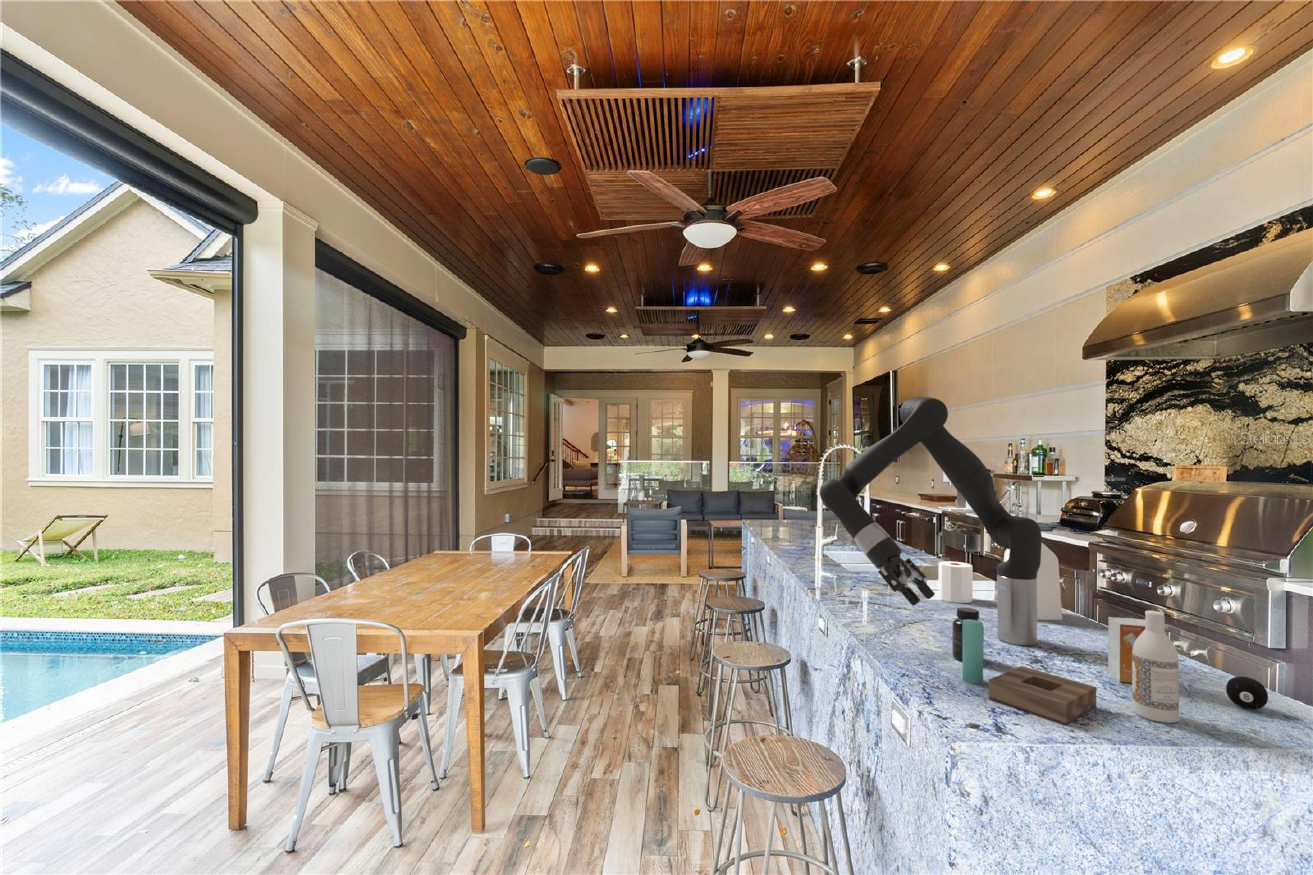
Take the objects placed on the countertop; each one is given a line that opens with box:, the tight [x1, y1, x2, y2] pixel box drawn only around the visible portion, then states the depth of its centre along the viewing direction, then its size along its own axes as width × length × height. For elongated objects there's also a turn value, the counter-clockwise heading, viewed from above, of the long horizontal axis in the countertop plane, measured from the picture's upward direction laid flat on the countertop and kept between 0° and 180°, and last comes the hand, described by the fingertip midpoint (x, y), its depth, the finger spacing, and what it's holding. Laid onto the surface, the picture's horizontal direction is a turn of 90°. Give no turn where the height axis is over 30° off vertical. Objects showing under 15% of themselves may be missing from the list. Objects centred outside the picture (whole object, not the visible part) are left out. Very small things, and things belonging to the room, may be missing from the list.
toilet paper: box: [938, 560, 974, 604], centre depth 205 cm, size 10×10×12 cm
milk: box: [1003, 542, 1063, 621], centre depth 187 cm, size 12×12×26 cm
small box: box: [1107, 616, 1145, 684], centre depth 134 cm, size 8×6×13 cm
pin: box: [962, 619, 984, 685], centre depth 133 cm, size 4×4×13 cm
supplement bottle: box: [951, 607, 985, 662], centre depth 147 cm, size 7×7×12 cm
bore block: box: [988, 665, 1097, 726], centre depth 122 cm, size 14×14×4 cm
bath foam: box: [1131, 610, 1180, 724], centre depth 116 cm, size 7×7×20 cm
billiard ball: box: [1225, 675, 1269, 710], centre depth 120 cm, size 6×6×6 cm
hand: (924, 600), depth 141 cm, fingers open, 8 cm apart
